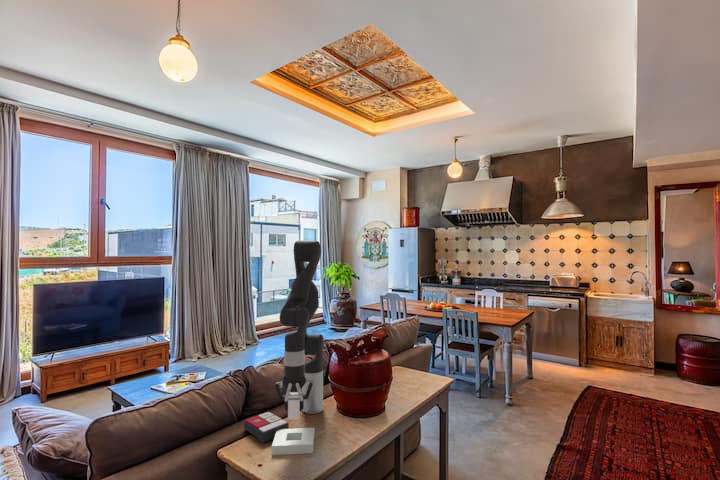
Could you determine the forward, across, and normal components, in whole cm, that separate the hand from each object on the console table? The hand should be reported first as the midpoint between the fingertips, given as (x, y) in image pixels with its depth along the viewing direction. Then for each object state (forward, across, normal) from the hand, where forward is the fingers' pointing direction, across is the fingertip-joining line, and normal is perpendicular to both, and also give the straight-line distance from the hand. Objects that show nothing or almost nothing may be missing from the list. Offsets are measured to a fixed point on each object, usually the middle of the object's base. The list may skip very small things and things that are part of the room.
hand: (294, 410), depth 130 cm
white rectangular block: (+2, 0, 0) cm, 2 cm away
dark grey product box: (+12, +12, -11) cm, 20 cm away
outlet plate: (+12, 0, 0) cm, 12 cm away
